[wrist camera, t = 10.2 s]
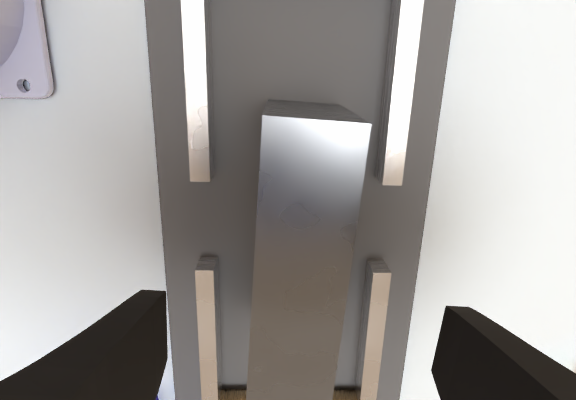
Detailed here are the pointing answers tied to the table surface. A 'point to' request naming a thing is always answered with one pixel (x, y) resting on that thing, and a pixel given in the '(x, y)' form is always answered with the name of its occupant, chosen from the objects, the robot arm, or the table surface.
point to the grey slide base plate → (246, 160)
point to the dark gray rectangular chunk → (303, 246)
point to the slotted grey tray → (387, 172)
